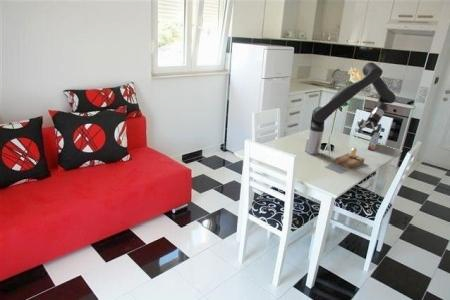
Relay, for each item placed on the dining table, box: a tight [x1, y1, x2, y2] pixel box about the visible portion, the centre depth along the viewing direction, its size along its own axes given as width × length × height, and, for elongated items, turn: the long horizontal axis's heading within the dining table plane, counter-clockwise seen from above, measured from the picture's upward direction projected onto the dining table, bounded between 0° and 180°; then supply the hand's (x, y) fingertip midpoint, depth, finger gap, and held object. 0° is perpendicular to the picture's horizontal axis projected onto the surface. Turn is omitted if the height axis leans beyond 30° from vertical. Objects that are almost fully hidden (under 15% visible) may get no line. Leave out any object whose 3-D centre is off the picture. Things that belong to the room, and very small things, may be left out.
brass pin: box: [350, 147, 358, 159], centre depth 217 cm, size 3×3×10 cm
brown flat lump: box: [334, 152, 365, 170], centre depth 217 cm, size 12×18×4 cm, turn 132°
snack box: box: [367, 126, 383, 152], centre depth 251 cm, size 21×6×15 cm, turn 151°
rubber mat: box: [324, 163, 349, 175], centre depth 206 cm, size 12×10×1 cm
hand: (364, 134), depth 219 cm, fingers open, 8 cm apart
